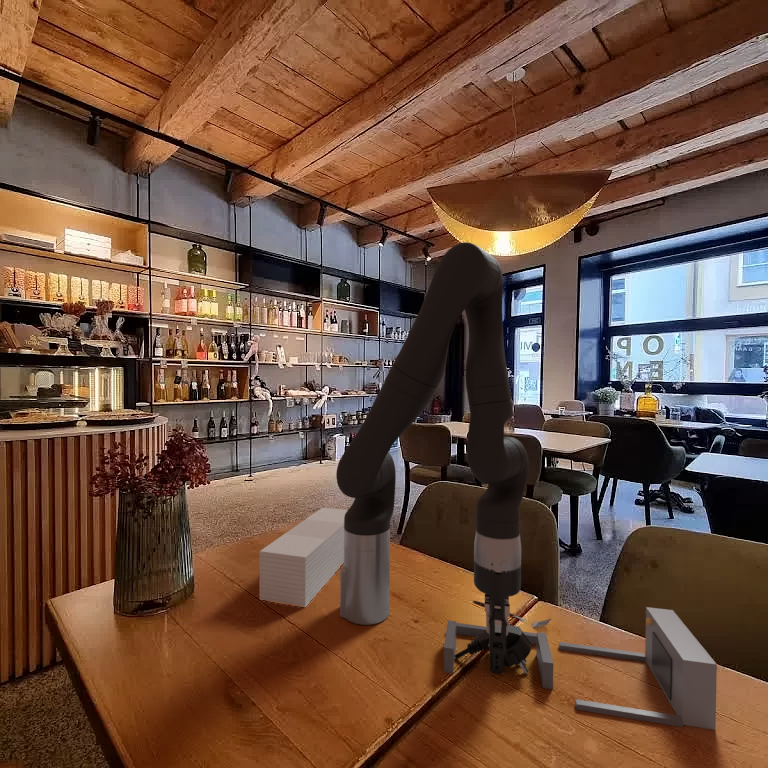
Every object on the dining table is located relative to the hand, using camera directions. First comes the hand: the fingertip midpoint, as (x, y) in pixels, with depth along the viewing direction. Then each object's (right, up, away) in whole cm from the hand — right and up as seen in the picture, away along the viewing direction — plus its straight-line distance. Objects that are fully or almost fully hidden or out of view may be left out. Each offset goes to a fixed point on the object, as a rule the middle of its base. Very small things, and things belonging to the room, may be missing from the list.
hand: (496, 659), depth 72 cm
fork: (+7, -1, +15) cm, 16 cm away
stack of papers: (-35, 0, +34) cm, 49 cm away
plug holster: (0, -1, +2) cm, 2 cm away
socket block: (+19, -1, -4) cm, 20 cm away
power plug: (-1, -1, 0) cm, 1 cm away
